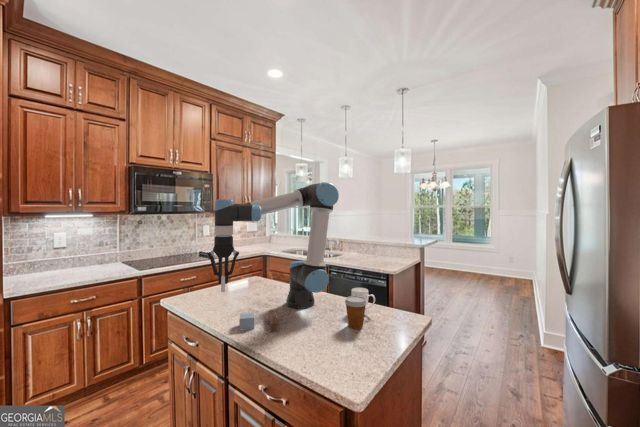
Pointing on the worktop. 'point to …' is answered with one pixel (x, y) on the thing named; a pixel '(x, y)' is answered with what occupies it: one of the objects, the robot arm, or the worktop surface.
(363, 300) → the disposable coffee cup
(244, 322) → the block
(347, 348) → the worktop surface
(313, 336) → the worktop surface
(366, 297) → the mug
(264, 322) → the worktop surface
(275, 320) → the narrow bar
